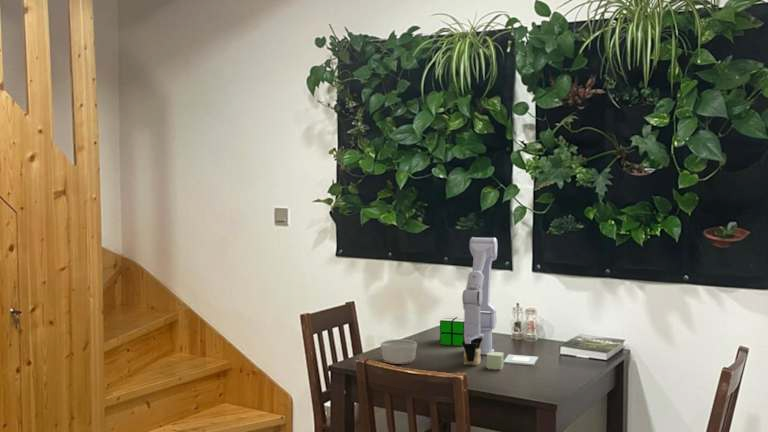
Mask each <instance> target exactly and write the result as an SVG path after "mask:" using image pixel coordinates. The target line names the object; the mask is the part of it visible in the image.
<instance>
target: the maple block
mask: <svg viewBox="0 0 768 432" xmlns="http://www.w3.org/2000/svg"><path fill="white" fill-rule="evenodd" d="M481 355H482V354H481V349H479V348H476V351H475V357H474V361H473V362H471V361H467V357H466V352H465V349H464V350H463V365H465V364H472V365H471V366H477V365H478V364H479V365H480V364H481V362H482V359H481V358H482V357H481ZM479 365H478V366H479Z"/></svg>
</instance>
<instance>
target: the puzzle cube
mask: <svg viewBox="0 0 768 432" xmlns="http://www.w3.org/2000/svg"><path fill="white" fill-rule="evenodd" d="M463 341H465V337H464V316H453V315H452V316H451V315H446V316H445V317H443V318H442V319H440V320H439V345H440V344H442V345H441V346H450V345H451V346H453V345H455V346H454V347H463V345H462V342H463Z"/></svg>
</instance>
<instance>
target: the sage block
mask: <svg viewBox="0 0 768 432" xmlns="http://www.w3.org/2000/svg"><path fill="white" fill-rule="evenodd" d="M504 358H505V354H504V352H500V351H494V352H489V353H488V354H487V355H486V369H487V368H488V369H487V370H497V369H499V370H498V371H501V370H502V369H503V368H504V365H505V363H504V360H505V359H504Z"/></svg>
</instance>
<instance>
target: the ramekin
mask: <svg viewBox="0 0 768 432" xmlns="http://www.w3.org/2000/svg"><path fill="white" fill-rule="evenodd" d="M380 347H381V356H382V360H383V359H384V360H387V361H390V362H395V363H402V362H408V361H412V360H414V359H415V360H416V352H417V347H418V343H417V342H416V341H414V340H410V339H403V338H402V339H400V338H399V339H388V340H387V339H386V340H383V341H382V342H380ZM384 360H383V361H384ZM415 360H414V361H415Z"/></svg>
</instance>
